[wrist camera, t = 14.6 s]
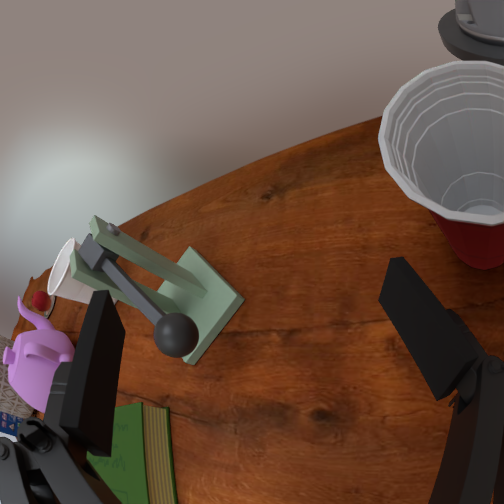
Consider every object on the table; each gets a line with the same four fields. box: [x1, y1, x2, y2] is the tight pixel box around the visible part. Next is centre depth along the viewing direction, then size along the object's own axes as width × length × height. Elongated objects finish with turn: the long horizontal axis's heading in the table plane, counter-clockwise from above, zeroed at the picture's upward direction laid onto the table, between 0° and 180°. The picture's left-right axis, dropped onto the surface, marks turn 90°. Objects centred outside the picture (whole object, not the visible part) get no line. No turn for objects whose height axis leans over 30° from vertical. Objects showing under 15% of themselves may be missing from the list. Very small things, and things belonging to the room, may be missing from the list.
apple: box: [32, 291, 55, 318], centre depth 71 cm, size 8×8×6 cm
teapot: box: [3, 296, 75, 413], centre depth 46 cm, size 22×22×14 cm
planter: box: [0, 335, 34, 419], centre depth 54 cm, size 19×19×16 cm
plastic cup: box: [378, 61, 504, 270], centre depth 15 cm, size 11×11×12 cm
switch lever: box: [78, 234, 199, 358], centre depth 25 cm, size 14×4×4 cm, turn 42°
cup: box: [48, 238, 117, 305], centre depth 46 cm, size 10×10×11 cm
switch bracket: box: [70, 215, 245, 365], centre depth 30 cm, size 12×9×15 cm
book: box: [87, 402, 178, 504], centre depth 25 cm, size 25×19×4 cm
